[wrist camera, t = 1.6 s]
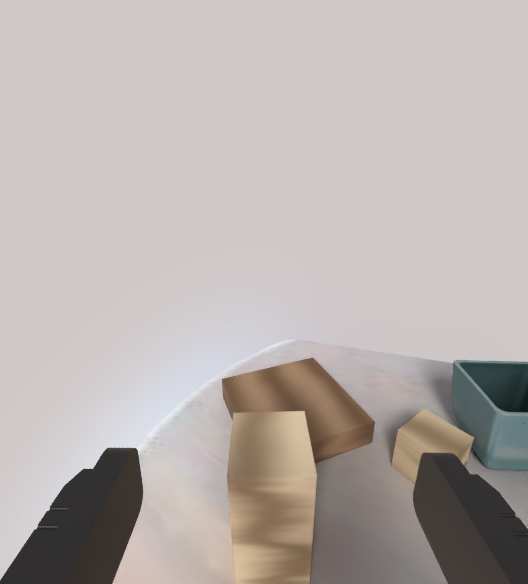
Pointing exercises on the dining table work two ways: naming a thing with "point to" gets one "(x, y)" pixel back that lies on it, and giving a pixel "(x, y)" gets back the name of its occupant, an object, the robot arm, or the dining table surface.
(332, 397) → the walnut slab
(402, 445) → the oak cube
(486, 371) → the flower pot
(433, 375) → the dining table surface
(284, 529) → the oak pillar
